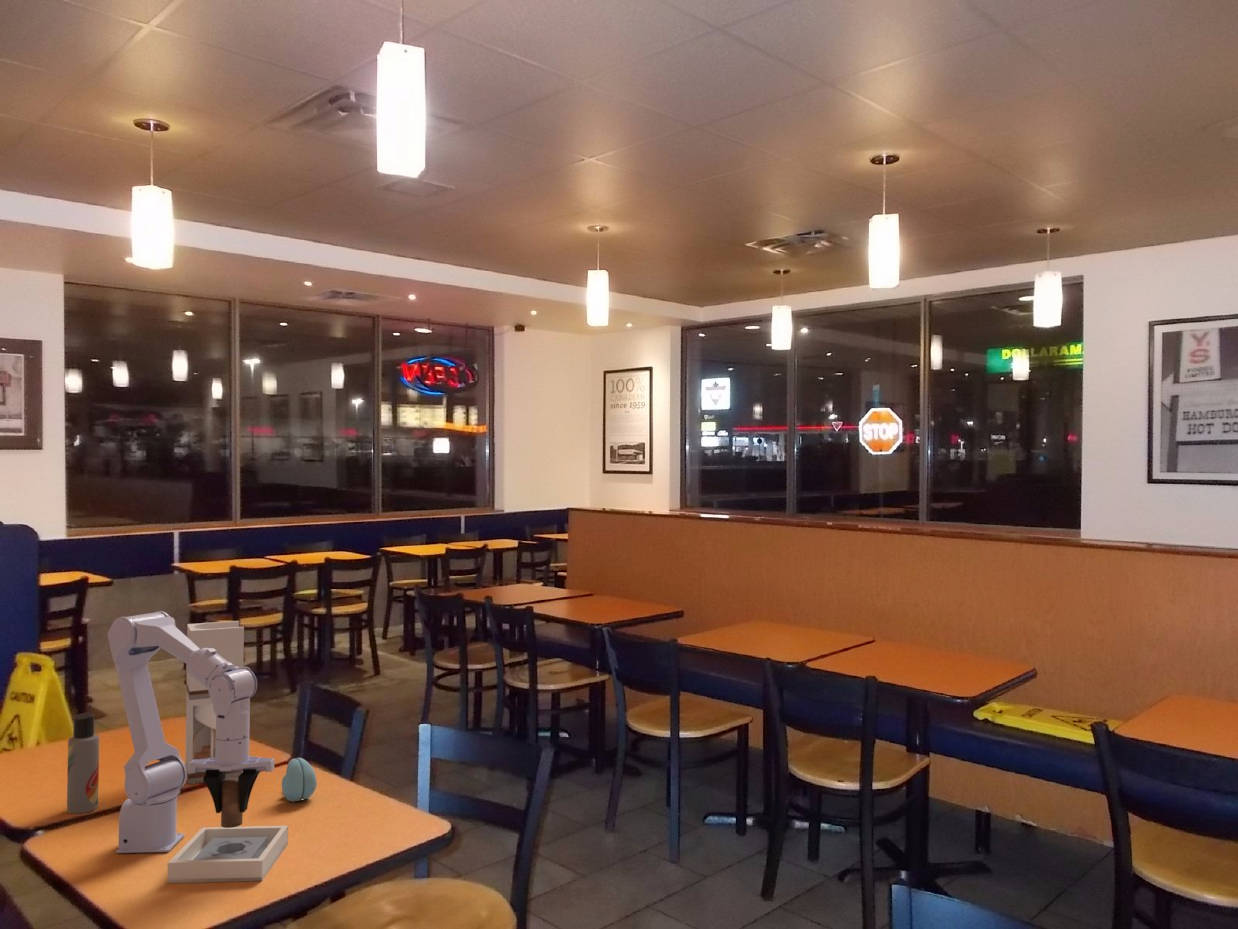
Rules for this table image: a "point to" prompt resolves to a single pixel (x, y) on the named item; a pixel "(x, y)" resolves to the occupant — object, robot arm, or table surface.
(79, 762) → the lotion bottle
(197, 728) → the tall white shelf
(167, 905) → the table surface
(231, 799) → the peg
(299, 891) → the table surface
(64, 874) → the table surface
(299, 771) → the toy flower bud
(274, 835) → the box
